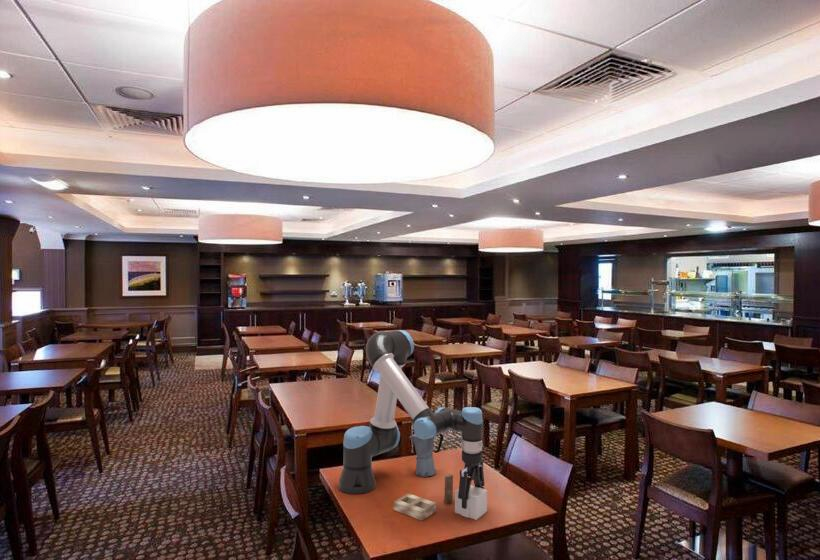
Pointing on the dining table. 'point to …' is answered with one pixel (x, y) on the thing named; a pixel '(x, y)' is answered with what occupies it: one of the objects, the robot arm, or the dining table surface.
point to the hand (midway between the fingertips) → (471, 511)
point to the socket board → (415, 506)
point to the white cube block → (473, 502)
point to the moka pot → (425, 455)
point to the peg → (448, 488)
